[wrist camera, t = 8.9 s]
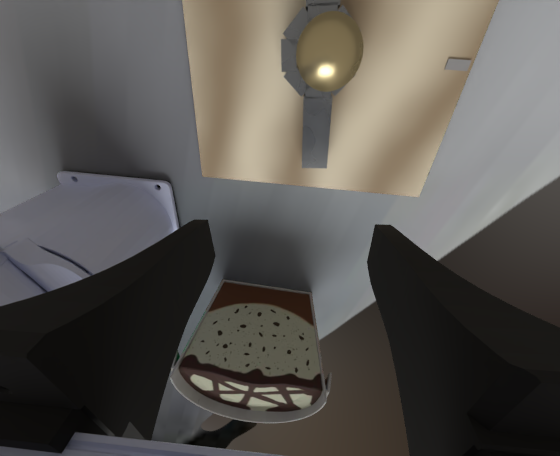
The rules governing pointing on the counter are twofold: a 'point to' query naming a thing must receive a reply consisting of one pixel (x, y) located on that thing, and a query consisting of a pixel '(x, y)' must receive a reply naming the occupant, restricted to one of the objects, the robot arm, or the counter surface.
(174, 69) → the counter surface
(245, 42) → the plate
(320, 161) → the t key
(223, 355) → the food container
